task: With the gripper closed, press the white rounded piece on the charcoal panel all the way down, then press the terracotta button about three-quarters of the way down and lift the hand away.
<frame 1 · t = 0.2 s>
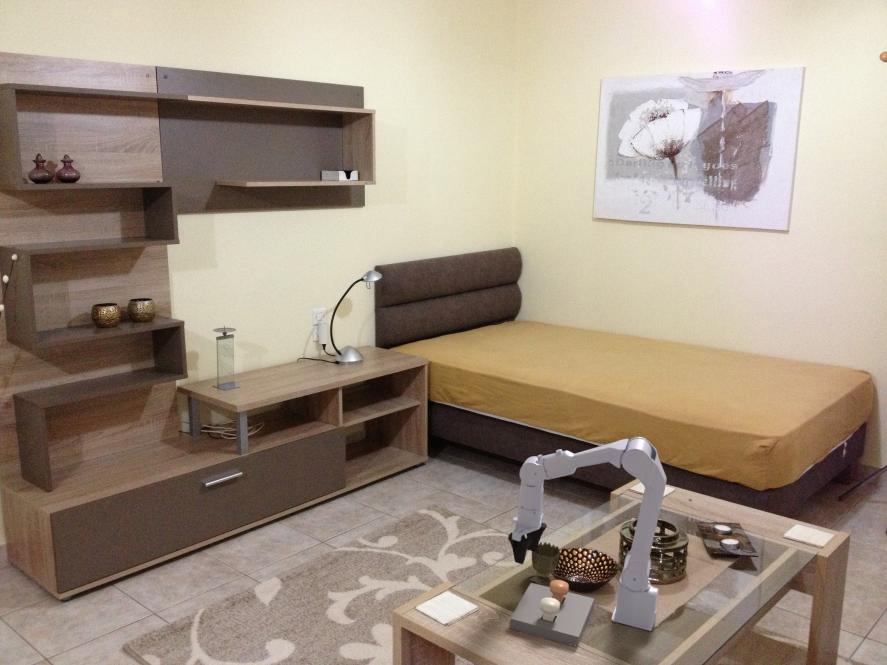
hand: (525, 556, 202), 10 cm above the table, tool pointing down, fingers open, 7 cm apart
white rounded piece: (549, 610, 189), point 4 cm above the table, slide at 0.0 cm
terracotta button: (558, 592, 197), point 4 cm above the table, slide at 0.0 cm
cup: (542, 577, 213), on the table
button panel: (552, 617, 194), on the table
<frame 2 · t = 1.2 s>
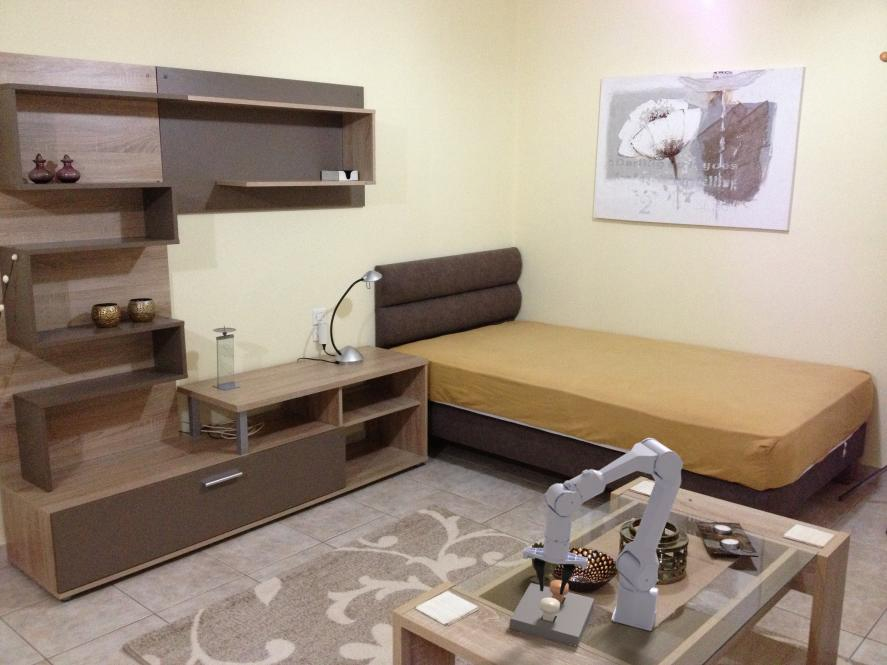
hand: (551, 590, 188), 9 cm above the table, tool pointing down, fingers open, 4 cm apart
nothing on the table moved.
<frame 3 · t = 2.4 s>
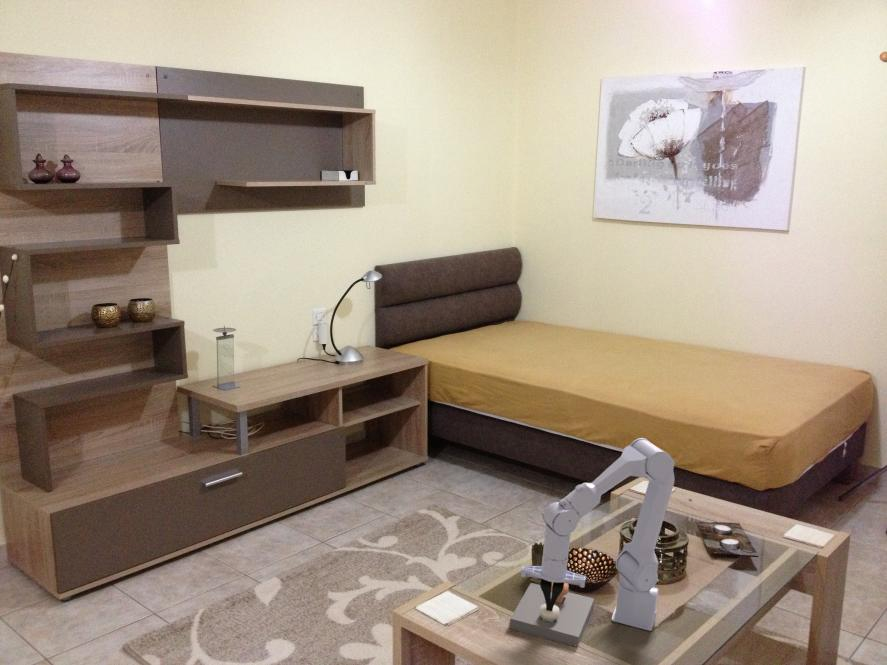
hand: (549, 608, 189), 5 cm above the table, tool pointing down, fingers closed, pressing on white rounded piece
white rounded piece: (549, 616, 190), point 3 cm above the table, slide at 1.5 cm, touching gripper
everything else where it was.
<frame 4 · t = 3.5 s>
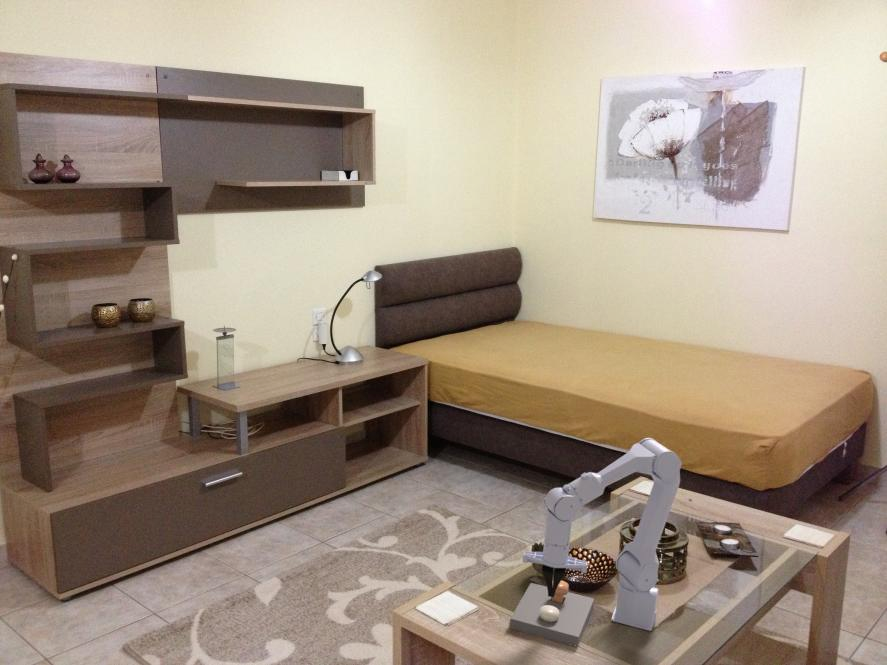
hand: (551, 594, 188), 8 cm above the table, tool pointing down, fingers closed
white rounded piece: (548, 618, 190), point 2 cm above the table, slide at 2.0 cm
everything else where it was.
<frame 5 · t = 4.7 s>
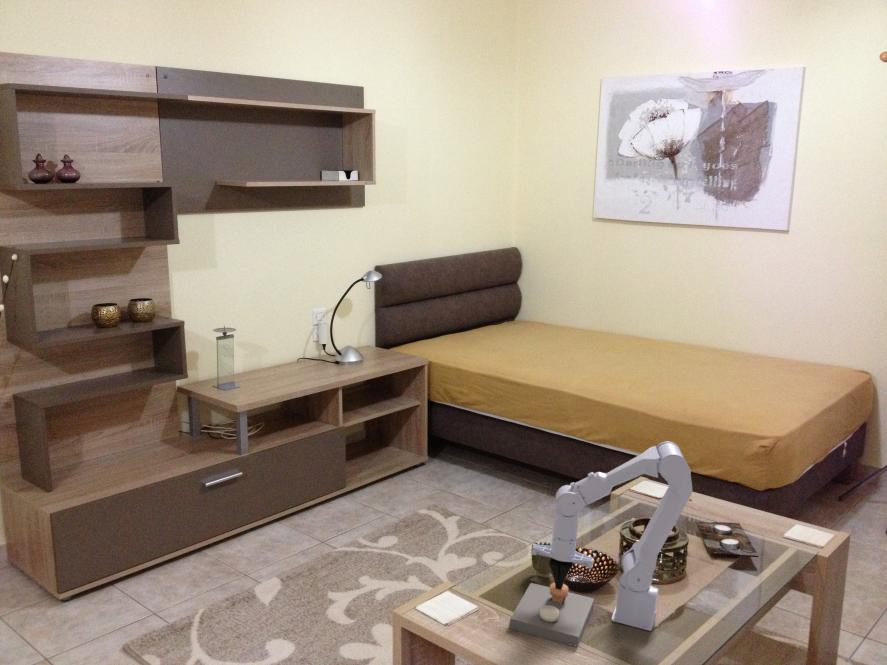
hand: (559, 587, 197), 6 cm above the table, tool pointing down, fingers closed, pressing on terracotta button
terracotta button: (558, 594, 198), point 4 cm above the table, slide at 0.7 cm, touching gripper
everything else where it was.
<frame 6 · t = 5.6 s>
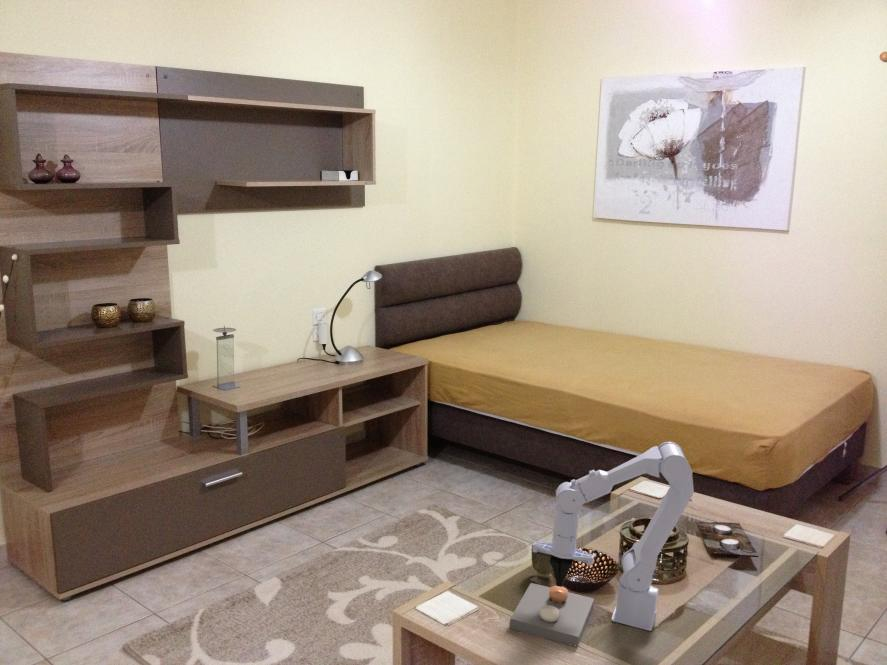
hand: (559, 584, 197), 6 cm above the table, tool pointing down, fingers closed
terracotta button: (558, 597, 198), point 3 cm above the table, slide at 1.5 cm
everything else where it was.
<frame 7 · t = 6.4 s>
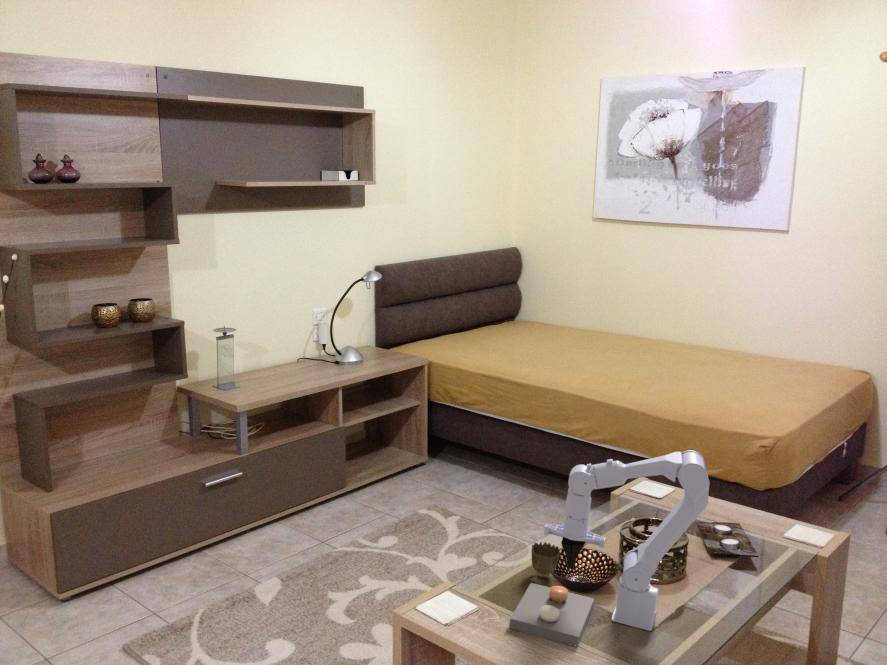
hand: (570, 566, 198), 10 cm above the table, tool pointing down, fingers closed
nothing on the table moved.
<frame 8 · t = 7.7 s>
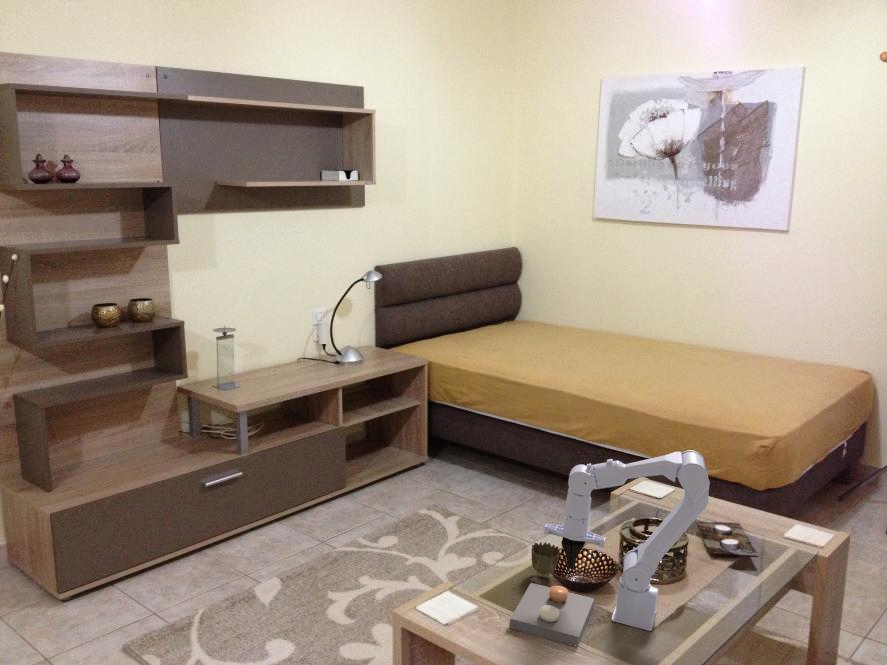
hand: (570, 566, 198), 10 cm above the table, tool pointing down, fingers closed
nothing on the table moved.
at the end: white rounded piece slide at 2.0 cm; terracotta button slide at 1.5 cm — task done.
